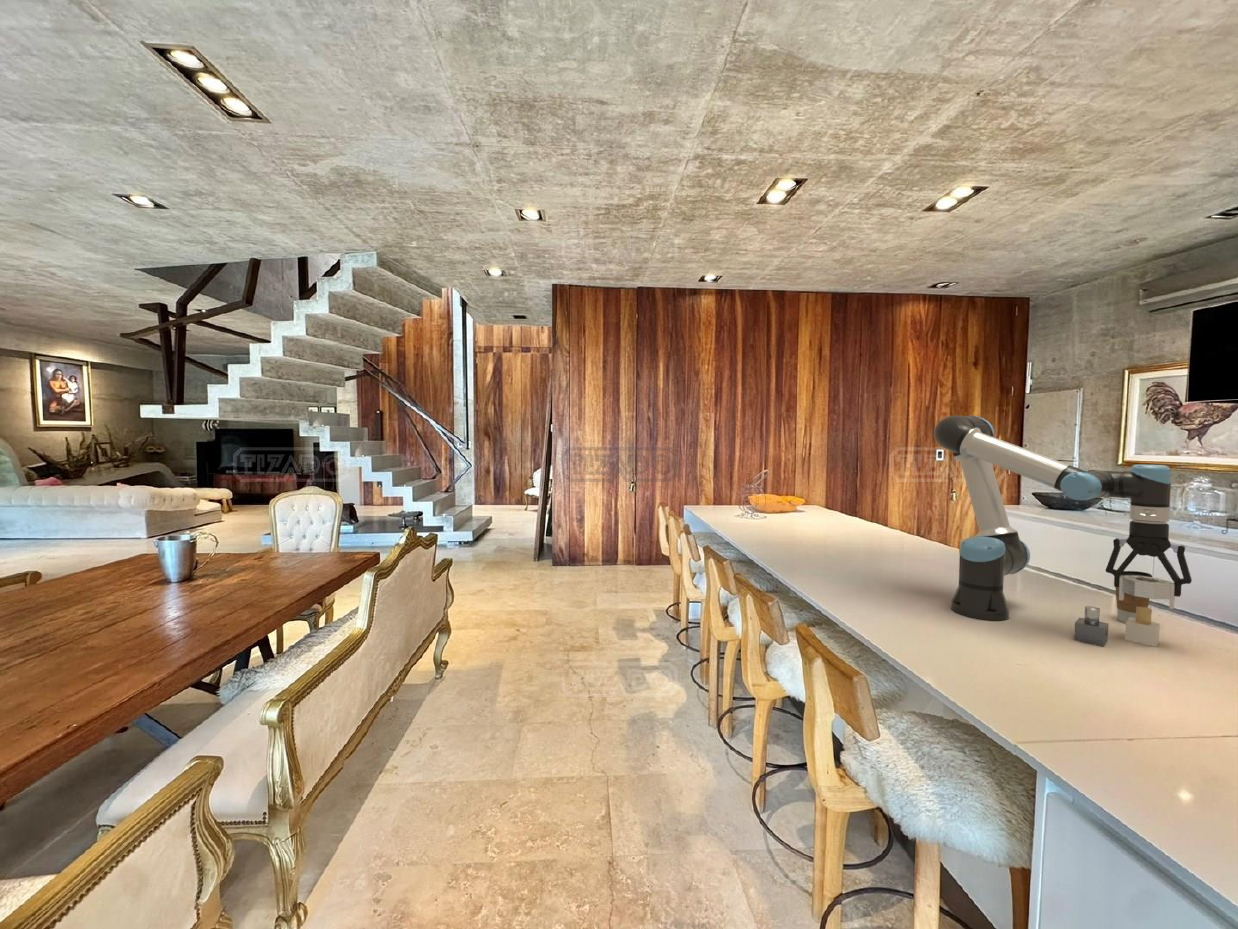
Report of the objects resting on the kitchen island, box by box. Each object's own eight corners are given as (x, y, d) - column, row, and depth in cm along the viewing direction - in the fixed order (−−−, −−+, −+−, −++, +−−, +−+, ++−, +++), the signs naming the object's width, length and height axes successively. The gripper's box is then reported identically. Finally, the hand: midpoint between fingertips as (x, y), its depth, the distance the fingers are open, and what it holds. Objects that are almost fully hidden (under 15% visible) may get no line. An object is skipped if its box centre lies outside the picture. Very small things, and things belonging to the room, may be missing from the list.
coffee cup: (1158, 627, 153) (1162, 577, 152) (1125, 625, 155) (1127, 575, 154) (1136, 618, 161) (1139, 570, 160) (1104, 616, 163) (1107, 568, 162)
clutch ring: (1120, 593, 143) (1121, 579, 143) (1125, 587, 149) (1126, 573, 148) (1168, 601, 136) (1169, 586, 136) (1171, 594, 142) (1172, 580, 142)
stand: (1074, 640, 144) (1075, 607, 143) (1078, 634, 147) (1080, 602, 147) (1103, 647, 139) (1105, 613, 139) (1107, 641, 143) (1109, 608, 142)
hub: (1125, 640, 144) (1127, 608, 143) (1128, 634, 148) (1130, 603, 147) (1156, 646, 139) (1158, 613, 139) (1158, 641, 143) (1160, 609, 142)
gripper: (1092, 518, 147) (1090, 597, 148) (1208, 528, 131) (1204, 616, 132) (1097, 516, 152) (1095, 592, 153) (1210, 524, 136) (1206, 610, 137)
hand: (1145, 603), depth 143 cm, fingers closed on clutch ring, 9 cm apart
